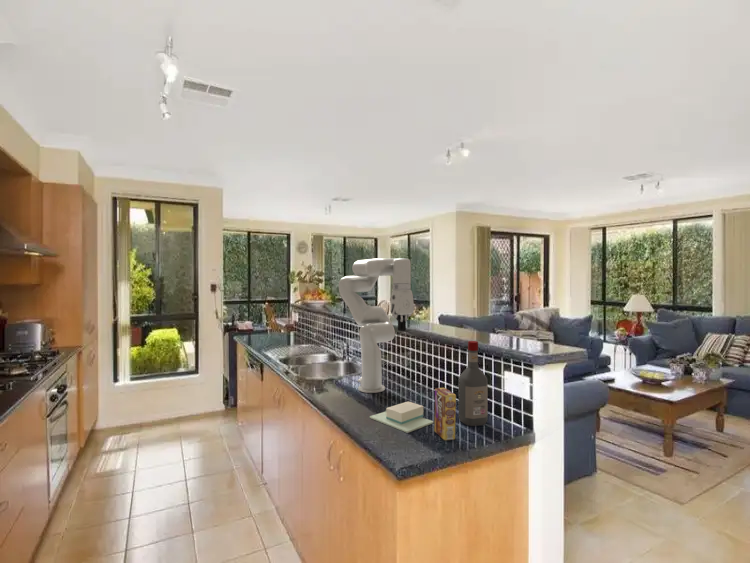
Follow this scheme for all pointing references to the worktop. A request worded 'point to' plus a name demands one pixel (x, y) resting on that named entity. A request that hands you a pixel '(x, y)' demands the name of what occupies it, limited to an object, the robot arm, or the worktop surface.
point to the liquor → (473, 391)
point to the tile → (404, 412)
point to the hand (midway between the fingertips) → (401, 330)
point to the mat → (404, 427)
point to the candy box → (445, 413)
